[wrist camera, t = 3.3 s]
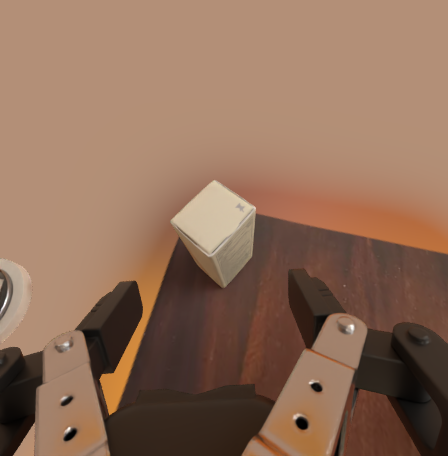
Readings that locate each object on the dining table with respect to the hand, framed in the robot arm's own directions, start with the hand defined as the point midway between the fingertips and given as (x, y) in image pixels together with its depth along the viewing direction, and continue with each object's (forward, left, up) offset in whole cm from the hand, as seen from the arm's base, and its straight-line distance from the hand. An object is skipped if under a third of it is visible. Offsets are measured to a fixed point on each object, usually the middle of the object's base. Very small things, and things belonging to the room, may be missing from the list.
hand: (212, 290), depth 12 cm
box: (-3, +5, -13) cm, 15 cm away
